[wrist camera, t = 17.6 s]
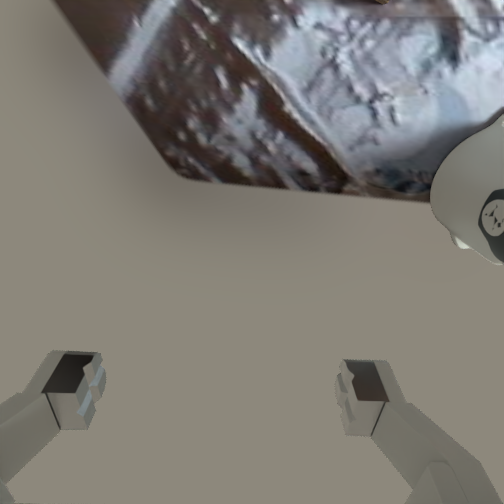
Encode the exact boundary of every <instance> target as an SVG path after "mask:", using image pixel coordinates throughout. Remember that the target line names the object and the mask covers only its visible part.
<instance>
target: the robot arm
mask: <svg viewBox="0 0 504 504" xmlns="http://www.w3.org/2000/svg"><path fill="white" fill-rule="evenodd" d="M430 203H431V208H432V211H433V213H434V215H435V217H436V218H437V220H438V221H439V222H440V223H441V224H442V225H444V226H445V227H446V228H447V229H448V230H449V231H450V235H451V238H452V240H453V242H454V244H455V245H457V246H458V247H459V248H462V249H466V248H472V249H473V250H474V251H476V252H477V253H479V254H480V255H482V256H483V257H484V258H486V259H487V260H489V261H490V262H491V263H493V264H496V265H500V264H503V265H504V114H503V115H501V116H500V117H499V118H498V119H497V120H496V121H495V122H494V123H493V124H492V125H490V126H489V127H487V128H486V129H484V130H482V131H480V132H478V133H476V134H474V135H472V136H471V137H469V138H467V139H466V140H465V141H463V142H462V143H461V144H459V145H458V146H457V147H456V148H455V149H454V150H453V151H452V152H451V153H450V154H449V155H448V156H447V157H446V159H445V160H444V161H443V163H442V164H441V166H440V167H439V169H438V171H437V173H436V175H435V177H434V180H433V183H432V186H431V192H430ZM101 362H102V357H101V354H100V353H98V352H80V351H58V350H53V351H51V352H50V353H48V354H47V356H46V357H45V359H44V360H43V362H42V363H41V365H40V366H39V368H38V369H37V371H36V372H35V374H34V376H33V377H32V379H31V380H30V382H29V383H28V385H27V386H26V388H25V389H24V391H23V392H22V393H16V394H15V395H13V396H12V397H10V398H9V399H7V400H6V401H4V402H3V403H1V404H0V504H30V503H14V502H15V500H14V496H13V495H12V493H11V492H10V490H9V489H8V487H7V486H6V483H7V482H8V481H10V480H11V479H12V477H14V476H15V475H16V474H17V473H18V472H19V471H20V470H21V469H22V468H23V467H24V466H25V465H26V464H27V463H28V462H29V461H30V460H31V459H32V458H33V457H34V456H35V455H36V454H38V452H39V451H41V450H42V449H43V448H44V447H45V446H46V445H47V444H48V443H49V442H50V441H51V440H52V439H53V438H54V437H55V436H56V435H57V434H58V433H59V432H60V430H87V429H88V428H89V425H90V423H91V421H92V418H93V416H94V414H95V411H96V409H95V406H94V403H95V402H96V401H98V400H99V399H100V398H101V397H102V394H103V392H104V389H105V384H106V372H105V369H104V368H103V367H102V366H100V364H101ZM339 368H340V371H341V373H340V374H338V375H337V377H336V381H335V394H336V399H337V404H338V405H339V406H340V407H341V408H342V409H343V410H342V413H341V420H342V423H343V427H344V431H345V435H347V436H367V437H371V439H372V440H373V441H374V442H375V444H376V445H377V446H378V447H379V448H380V450H381V451H382V452H383V453H384V454H385V456H386V457H387V458H388V459H389V461H390V462H391V463H392V464H393V466H394V467H395V468H396V469H397V470H398V472H399V473H400V474H401V475H402V477H403V478H404V479H405V480H406V481H407V483H408V484H409V485H410V486H411V488H412V489H413V491H412V492H411V494H410V496H409V497H408V499H407V501H406V502H405V504H503V503H502V501H501V499H500V497H499V495H498V493H497V492H496V490H495V488H494V486H493V484H492V483H491V481H490V479H489V477H488V475H487V474H486V472H485V470H484V468H483V467H482V465H481V463H480V461H478V460H477V459H476V458H475V457H474V456H472V455H471V454H470V453H469V452H468V451H467V450H466V449H464V448H463V447H462V446H460V444H459V443H457V442H456V441H455V440H454V439H453V438H452V437H450V436H449V435H448V434H447V433H446V432H445V431H443V430H442V429H441V428H440V427H439V426H438V425H436V424H435V423H434V422H433V421H432V420H431V419H429V418H428V417H427V416H426V415H425V414H423V413H422V412H421V411H420V410H419V409H418V408H416V407H415V406H414V405H413V404H412V403H407V402H406V400H405V397H404V395H403V393H402V391H401V389H400V386H399V384H398V382H397V380H396V378H395V375H394V373H393V371H392V369H391V367H390V364H389V363H388V362H387V361H385V360H384V361H383V360H348V359H347V360H345V359H343V360H342V361H341V363H340V366H339Z"/></svg>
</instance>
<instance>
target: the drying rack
mask: <svg viewBox="0 0 504 504" xmlns="http://www.w3.org/2000/svg"><path fill="white" fill-rule="evenodd" d="M375 1H377V2H379V3H381V4H382V5H383V4H386V3H388V1H389V0H375Z"/></svg>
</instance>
